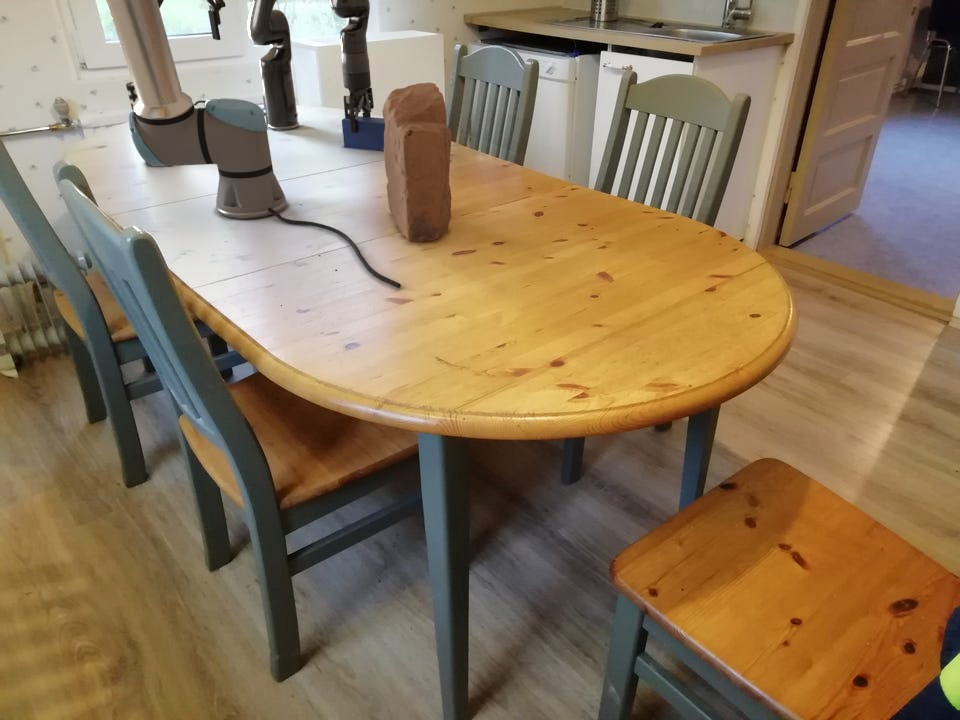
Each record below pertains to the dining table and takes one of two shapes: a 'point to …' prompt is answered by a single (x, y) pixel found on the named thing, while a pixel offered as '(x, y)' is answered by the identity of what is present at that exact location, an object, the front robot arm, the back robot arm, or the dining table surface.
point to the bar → (365, 134)
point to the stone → (418, 161)
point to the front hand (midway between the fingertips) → (190, 42)
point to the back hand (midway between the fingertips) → (361, 129)
